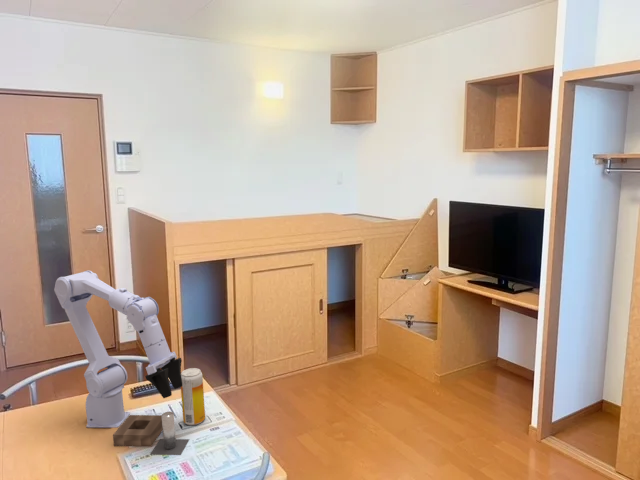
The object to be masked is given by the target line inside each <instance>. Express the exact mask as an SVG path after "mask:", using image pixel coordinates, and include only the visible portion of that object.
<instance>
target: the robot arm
mask: <svg viewBox="0 0 640 480" xmlns="http://www.w3.org/2000/svg"><path fill="white" fill-rule="evenodd" d="M54 284H55V285H54V289H53V291H54V294H55V295H56V297H57V299H58V302H59V304H60V306H61V308H62V309H63V310H64V312H65V314H66V316H67V318H68V320H69V322H70V324H71V327H72V328H73V329H72V330H73V331H74V333H75V334H74V335H75V336H76V338H77V339H78V342H79V344H80V347H81V349H82V351H83V352H84V356H85V357H86V361H88V364H89V365H88V366H87V368H86V370H85V371H84V374H83V377H84V379H85V381H86V389H87V391H88V395H87V397H86V400H85V411H86V412H85V413H86V420H87V424H86V425H85V426H86V428H95V429H96V428H100V429H103V428H106V429H107V428H109V429H110V428H111V429H112V428H116V429H118V428H119V427H120V426H121V425H122V423H123V422H124V421H125V420H126V419H127V418H128V416H129V415H131V411H125V406H124V397H123V395H124V394H123V389H124V388H125V384H126V383H127V381H128V372H127V369H126V368H125V367H124V366H123V365H122V364H121V362H120V360H119V358H117V357H113V356H110V355H109V354H108V352H107V349H106V348H105V346H104V345H105V344H104V343H103V341H102V339H101V336H100V334H99V332H98V330H97V327H96V326H95V324H94V322H93V319H92V317H91V314H90V313H89V311H88V308H87V304H88V302H89V301H90V300H91V299H92V297H93V295H94V296H95V297H98V298H101V299H102V300H105V301H108V305H109V307H110V308H111V309H114V310H115V311H117V312H119V313H121V314H123V315H125V316H126V319H127V321H128V322H129V323H130V324H131V325H132V327H133V328H134V331H136V332H137V333H138V336H139V338H140V341H141V343H142V344H141V345H142V346H143V349H144V352H145V354H146V357H147V359H148V362H149V364H148V365H147V366H146V367H145V369H146V372H147V375H145V376H144V377H145V380H146V381H148V382H150V383H151V385H153V386H154V387H155V389H156V390H157V392H158V393H159V394H160V396H161V398H162V399H167V398H170V397H172V395H173V393H172V389H171V385H172V387H173V389H174V390H177V389H179V388H181V387H182V377H181V373H182V357H178V355H177V354H176V352H175V351H172V352H171V350H170V347H169V345H168V341H167V339H166V337H165V334H164V332H163V331H164V330H163V328H162V326H161V324H160V321H159V318H158V315H159V312H160V307H159V304H158V303H157V301H156V300H155V299H154V298H152V297H151V296H147V297H140V295H138V294H135V293H133V292H130V291H128V289H127V288H126V287H122V288H121V287H120V288H119V287H118V288H116V289H115V287H112V286H111V285H109V284H107V283H105V281H102V280H101V279H99V275H98V274H97V273H95V272H93V271H92V270H90V269H88V270H85V271H81V272H77V273H73V274H70V275H67V276H60V277H58V278H57V279H56V280H55V283H54ZM177 357H178V358H177ZM99 371H100V372H99ZM170 383H171V385H170Z"/></svg>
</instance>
